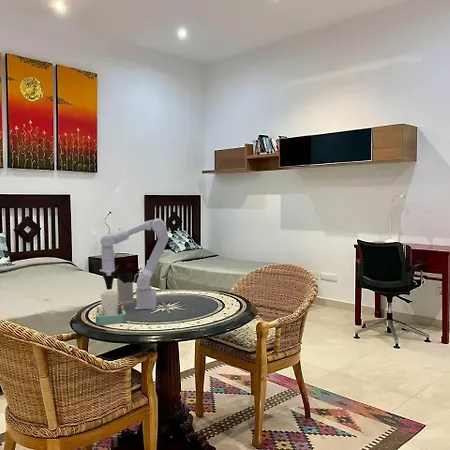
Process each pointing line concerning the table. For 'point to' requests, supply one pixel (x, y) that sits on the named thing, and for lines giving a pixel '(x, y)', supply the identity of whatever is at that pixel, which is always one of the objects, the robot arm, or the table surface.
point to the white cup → (109, 303)
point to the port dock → (111, 319)
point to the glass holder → (125, 287)
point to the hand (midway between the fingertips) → (109, 288)
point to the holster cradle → (121, 308)
